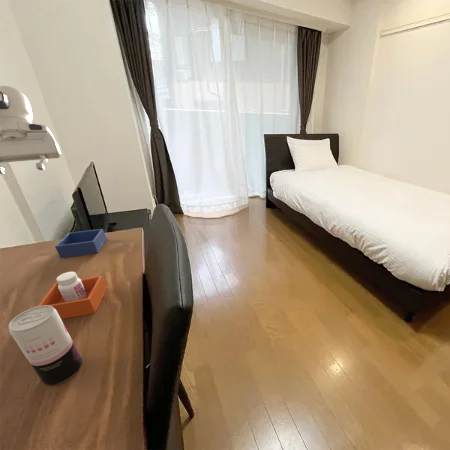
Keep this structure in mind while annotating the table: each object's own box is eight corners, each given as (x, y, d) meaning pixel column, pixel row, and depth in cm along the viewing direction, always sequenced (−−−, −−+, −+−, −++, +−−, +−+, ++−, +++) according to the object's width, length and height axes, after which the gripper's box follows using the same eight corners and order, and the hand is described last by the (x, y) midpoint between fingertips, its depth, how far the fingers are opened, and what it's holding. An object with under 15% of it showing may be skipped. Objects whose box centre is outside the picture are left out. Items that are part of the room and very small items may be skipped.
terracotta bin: (43, 322, 67) (35, 308, 65) (61, 296, 76) (55, 282, 74) (95, 312, 70) (89, 299, 68) (107, 288, 79) (102, 275, 77)
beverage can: (49, 363, 57) (17, 310, 51) (86, 353, 60) (60, 300, 53) (37, 391, 52) (-2, 336, 45) (78, 379, 54) (47, 324, 48)
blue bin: (60, 258, 93) (54, 246, 91) (72, 243, 102) (67, 232, 100) (97, 252, 96) (93, 241, 94) (106, 239, 105) (102, 228, 103)
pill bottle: (85, 304, 72) (74, 279, 68) (63, 309, 71) (50, 283, 67) (90, 293, 76) (79, 269, 72) (70, 297, 75) (58, 272, 71)
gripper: (-38, 129, 79) (-35, 170, 76) (52, 125, 88) (58, 161, 85) (-23, 142, 84) (-20, 181, 81) (60, 137, 94) (66, 172, 90)
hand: (20, 171), depth 83 cm, fingers open, 8 cm apart
